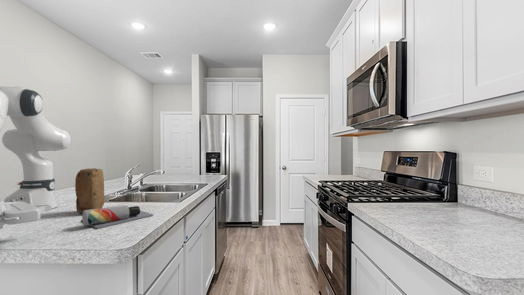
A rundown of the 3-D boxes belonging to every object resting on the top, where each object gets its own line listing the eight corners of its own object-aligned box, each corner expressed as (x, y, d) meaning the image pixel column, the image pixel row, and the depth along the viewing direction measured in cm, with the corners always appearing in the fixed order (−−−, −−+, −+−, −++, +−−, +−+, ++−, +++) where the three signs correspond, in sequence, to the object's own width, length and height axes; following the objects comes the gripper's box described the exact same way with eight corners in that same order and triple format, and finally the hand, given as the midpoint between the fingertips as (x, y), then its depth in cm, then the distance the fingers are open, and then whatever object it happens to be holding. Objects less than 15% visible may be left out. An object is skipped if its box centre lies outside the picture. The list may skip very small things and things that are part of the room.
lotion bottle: (86, 221, 94) (142, 212, 108) (84, 207, 96) (139, 201, 111) (83, 228, 96) (138, 219, 111) (81, 215, 99) (135, 208, 114)
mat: (97, 229, 95) (97, 227, 95) (80, 221, 104) (80, 219, 104) (153, 215, 112) (153, 214, 112) (134, 210, 122) (134, 208, 122)
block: (106, 210, 121) (105, 168, 121) (92, 215, 114) (92, 169, 114) (86, 209, 123) (86, 168, 123) (72, 213, 116) (71, 169, 116)
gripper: (-1, 210, 72) (59, 201, 84) (-13, 201, 85) (41, 195, 96) (-1, 233, 73) (59, 221, 84) (-13, 220, 85) (41, 212, 96)
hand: (49, 207), depth 90 cm, fingers closed
